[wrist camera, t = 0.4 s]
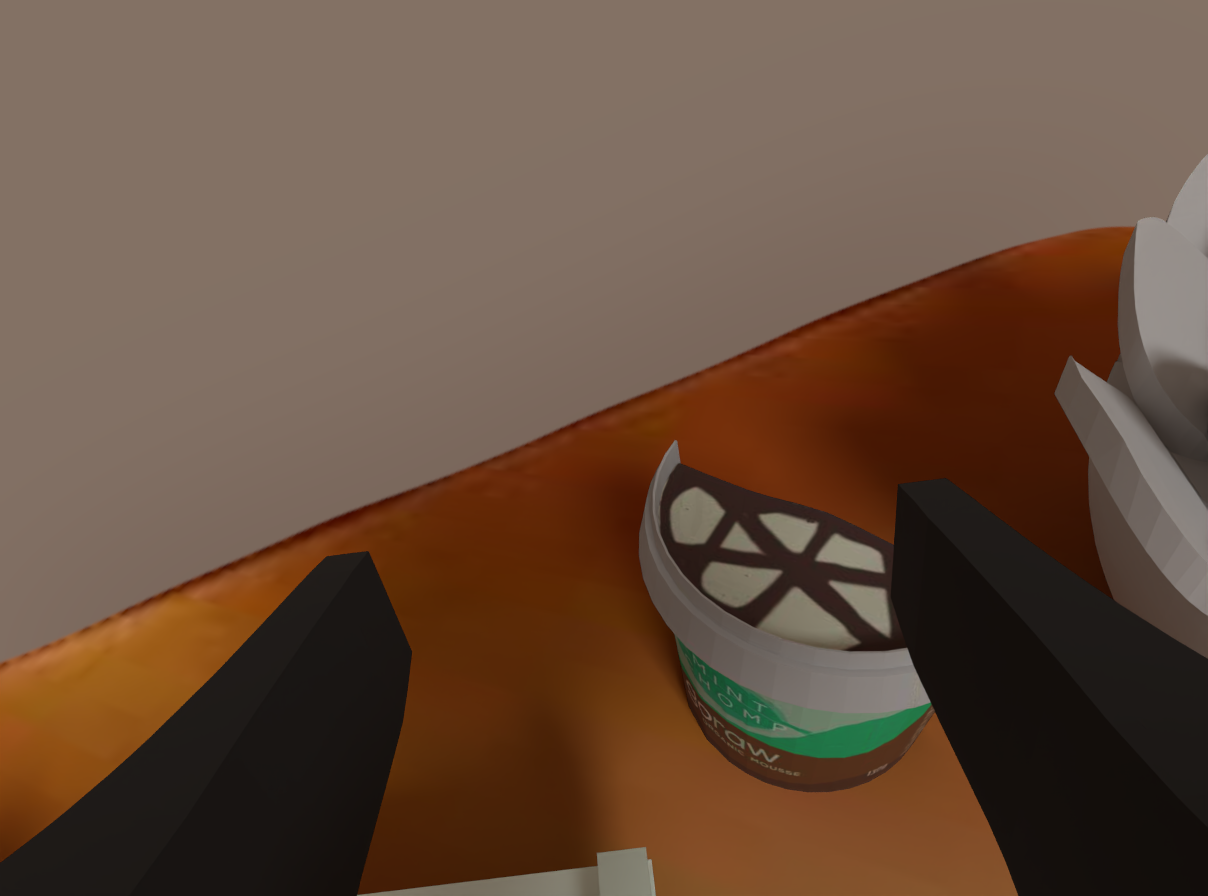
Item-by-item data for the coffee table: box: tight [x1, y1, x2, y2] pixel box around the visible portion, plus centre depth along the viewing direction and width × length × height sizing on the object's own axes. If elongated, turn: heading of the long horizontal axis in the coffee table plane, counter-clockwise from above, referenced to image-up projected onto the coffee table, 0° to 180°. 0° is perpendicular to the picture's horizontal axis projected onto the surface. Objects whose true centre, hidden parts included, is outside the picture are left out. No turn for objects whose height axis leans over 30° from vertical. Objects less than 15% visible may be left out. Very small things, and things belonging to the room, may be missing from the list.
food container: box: [639, 441, 935, 792], centre depth 26 cm, size 12×6×10 cm, turn 56°
